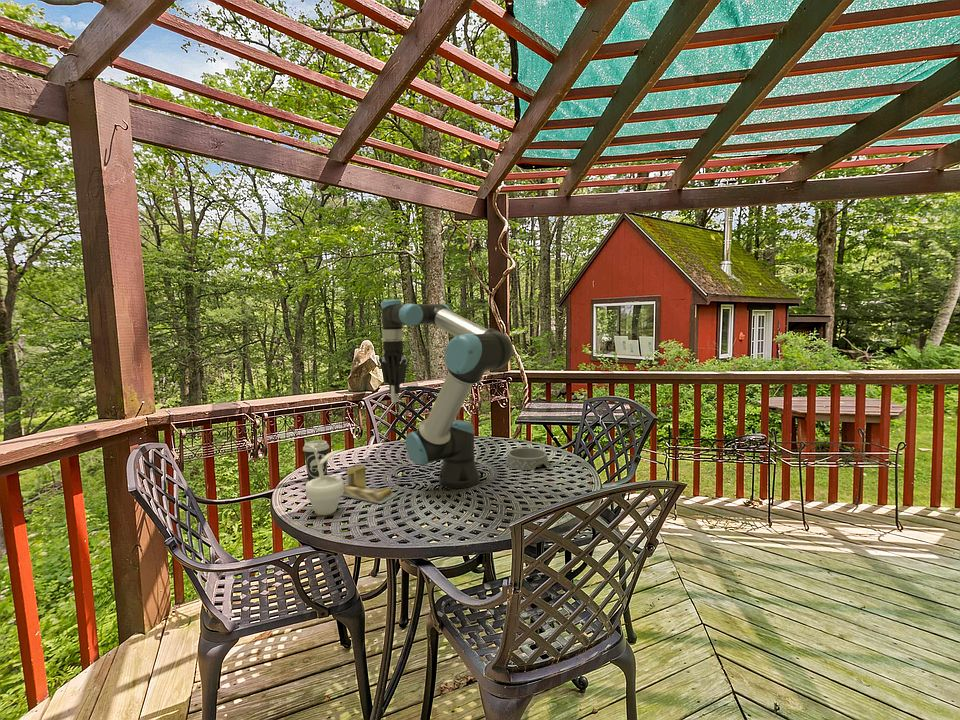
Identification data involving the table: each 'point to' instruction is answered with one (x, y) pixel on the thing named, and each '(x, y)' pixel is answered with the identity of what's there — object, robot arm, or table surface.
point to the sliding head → (356, 477)
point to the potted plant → (324, 487)
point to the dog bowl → (526, 458)
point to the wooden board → (372, 500)
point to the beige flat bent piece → (366, 493)
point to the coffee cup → (311, 458)
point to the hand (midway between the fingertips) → (395, 401)
